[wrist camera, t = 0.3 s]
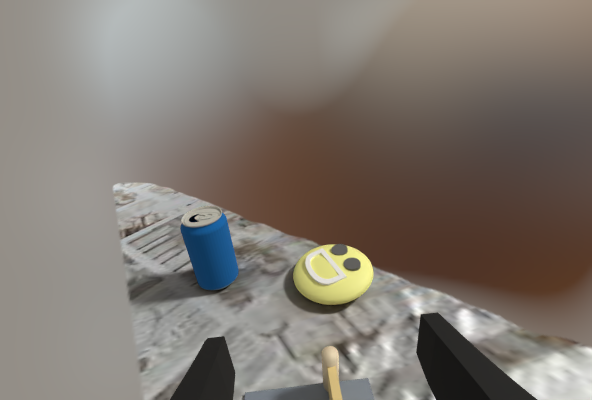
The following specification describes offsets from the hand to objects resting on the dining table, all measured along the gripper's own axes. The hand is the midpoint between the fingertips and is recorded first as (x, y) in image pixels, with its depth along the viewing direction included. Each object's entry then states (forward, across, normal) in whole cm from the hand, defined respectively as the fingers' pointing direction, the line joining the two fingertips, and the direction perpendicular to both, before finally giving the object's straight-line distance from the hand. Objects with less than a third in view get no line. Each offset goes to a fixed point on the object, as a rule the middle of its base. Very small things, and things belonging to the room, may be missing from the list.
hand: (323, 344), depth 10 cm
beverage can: (+29, +14, +20) cm, 38 cm away
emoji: (+26, -4, +21) cm, 34 cm away
